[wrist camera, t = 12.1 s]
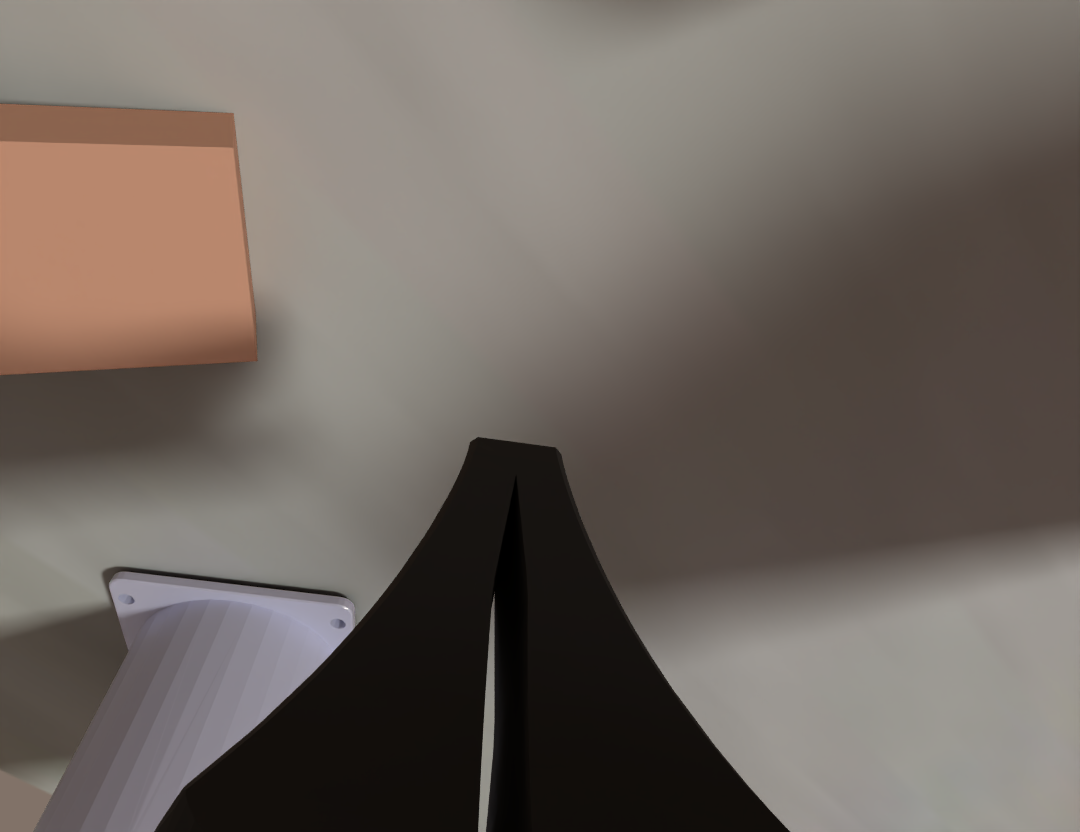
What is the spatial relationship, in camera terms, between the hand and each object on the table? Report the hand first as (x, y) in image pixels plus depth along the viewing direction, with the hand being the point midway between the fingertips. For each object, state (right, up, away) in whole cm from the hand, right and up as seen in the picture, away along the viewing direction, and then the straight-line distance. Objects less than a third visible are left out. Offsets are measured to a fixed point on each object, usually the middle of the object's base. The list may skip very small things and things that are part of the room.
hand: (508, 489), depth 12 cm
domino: (-6, +5, +5) cm, 9 cm away
